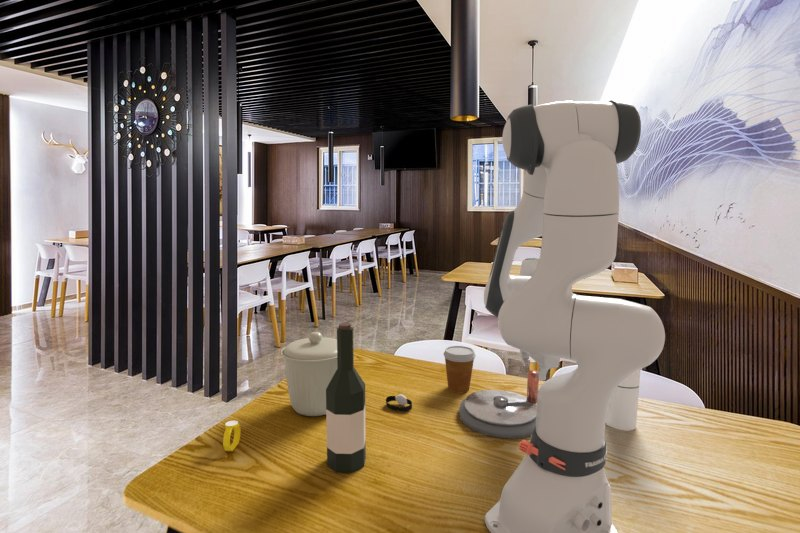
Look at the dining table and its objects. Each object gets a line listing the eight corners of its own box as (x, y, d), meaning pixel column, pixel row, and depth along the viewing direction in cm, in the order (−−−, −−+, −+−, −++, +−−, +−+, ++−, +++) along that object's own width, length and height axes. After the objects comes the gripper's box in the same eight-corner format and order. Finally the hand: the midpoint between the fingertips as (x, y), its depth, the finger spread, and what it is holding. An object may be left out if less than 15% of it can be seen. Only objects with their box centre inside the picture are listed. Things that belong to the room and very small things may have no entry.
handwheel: (476, 428, 100) (477, 389, 99) (456, 395, 118) (457, 362, 117) (553, 424, 102) (555, 386, 101) (523, 392, 120) (524, 359, 119)
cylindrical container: (628, 417, 111) (635, 323, 108) (641, 431, 104) (649, 331, 101) (600, 416, 111) (606, 322, 108) (610, 429, 104) (617, 330, 101)
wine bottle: (323, 455, 93) (320, 321, 89) (360, 448, 96) (359, 317, 92) (331, 477, 85) (328, 331, 81) (371, 468, 88) (370, 327, 84)
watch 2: (415, 407, 116) (415, 395, 116) (407, 415, 112) (407, 402, 112) (390, 402, 120) (390, 389, 119) (382, 408, 116) (382, 396, 115)
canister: (314, 431, 103) (312, 347, 100) (268, 410, 114) (265, 334, 111) (364, 405, 117) (363, 330, 115) (319, 388, 128) (317, 320, 126)
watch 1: (232, 442, 99) (231, 417, 98) (243, 442, 99) (243, 417, 98) (220, 454, 93) (219, 428, 92) (232, 455, 93) (232, 428, 92)
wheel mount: (505, 448, 96) (505, 439, 96) (442, 413, 113) (442, 405, 112) (559, 421, 108) (560, 413, 108) (495, 393, 125) (496, 386, 125)
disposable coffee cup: (437, 385, 131) (437, 347, 129) (463, 380, 135) (464, 343, 133) (453, 397, 122) (454, 357, 121) (481, 391, 126) (482, 352, 125)
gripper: (508, 310, 118) (506, 358, 120) (540, 332, 98) (538, 389, 100) (530, 310, 119) (528, 357, 121) (566, 331, 99) (563, 387, 101)
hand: (533, 372), depth 111 cm, fingers open, 8 cm apart
